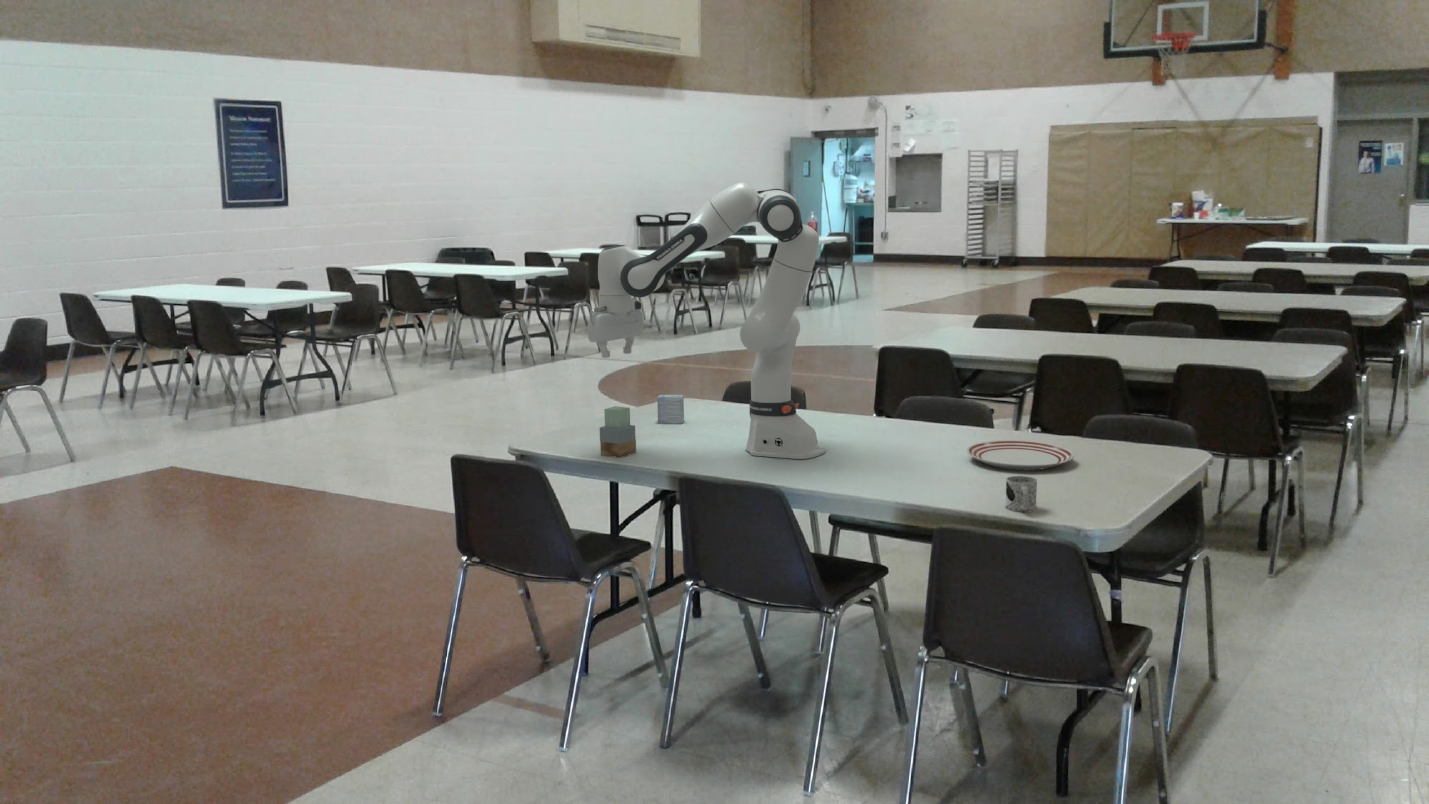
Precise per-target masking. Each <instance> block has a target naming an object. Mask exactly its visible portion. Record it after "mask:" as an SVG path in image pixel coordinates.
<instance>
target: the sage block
mask: <svg viewBox="0 0 1429 804" xmlns="http://www.w3.org/2000/svg"><path fill="white" fill-rule="evenodd" d="M630 425H631V407H629V406H628V407H627V406H617V405H615V406H611V407H607V408H606V407H605V408H604V426H605V427H611V428H623V427H626V426H630Z"/></svg>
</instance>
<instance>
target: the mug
mask: <svg viewBox="0 0 1429 804" xmlns="http://www.w3.org/2000/svg"><path fill="white" fill-rule="evenodd" d="M1005 482H1006V483H1005V509H1007V510H1009V511H1011V512H1018V513H1030V512H1029V511H1031V512H1034V510H1035V511H1036V510H1037V493H1038V491H1037V490H1038V486H1037V485H1038V480H1037V479H1036V478H1035V477H1031V476H1026V475H1024V476H1023V475H1013V476H1008V477H1006V481H1005Z"/></svg>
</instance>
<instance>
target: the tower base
mask: <svg viewBox="0 0 1429 804" xmlns="http://www.w3.org/2000/svg"><path fill="white" fill-rule="evenodd" d="M599 443H600V456H607V457H612V456H616V457H615V458H620V457H621V458H623V457H622V456H624V457H628V456H630V455H629V454H631V455H634V454H637V439H636V438H635V440H632V441H629V442H626V443H622V444H615V443H607V442H600V441H599ZM633 453H634V454H633ZM627 455H628V456H627Z"/></svg>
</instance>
